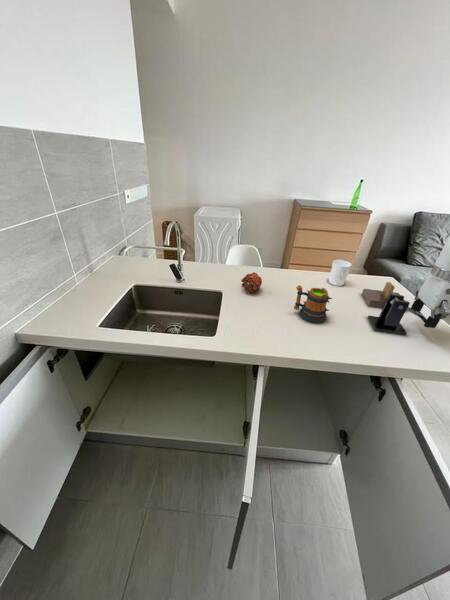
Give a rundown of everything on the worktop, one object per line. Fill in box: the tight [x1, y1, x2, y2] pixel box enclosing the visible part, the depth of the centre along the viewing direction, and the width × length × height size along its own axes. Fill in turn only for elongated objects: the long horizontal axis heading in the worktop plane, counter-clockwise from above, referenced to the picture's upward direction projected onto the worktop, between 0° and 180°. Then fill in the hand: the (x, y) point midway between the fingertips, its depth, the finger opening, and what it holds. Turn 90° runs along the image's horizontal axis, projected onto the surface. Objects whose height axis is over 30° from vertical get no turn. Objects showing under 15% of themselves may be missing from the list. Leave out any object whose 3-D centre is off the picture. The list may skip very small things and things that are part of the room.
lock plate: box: [361, 288, 406, 309], centre depth 101 cm, size 14×10×3 cm
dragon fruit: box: [240, 272, 263, 293], centre depth 104 cm, size 8×8×12 cm
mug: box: [293, 285, 333, 325], centre depth 88 cm, size 13×10×12 cm
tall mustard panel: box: [381, 281, 396, 299], centre depth 98 cm, size 5×1×6 cm, turn 169°
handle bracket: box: [367, 294, 411, 336], centre depth 84 cm, size 10×8×12 cm
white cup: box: [328, 259, 353, 287], centre depth 113 cm, size 8×8×10 cm
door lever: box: [390, 297, 428, 324], centre depth 82 cm, size 12×6×2 cm, turn 80°
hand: (421, 318), depth 83 cm, fingers open, 9 cm apart
